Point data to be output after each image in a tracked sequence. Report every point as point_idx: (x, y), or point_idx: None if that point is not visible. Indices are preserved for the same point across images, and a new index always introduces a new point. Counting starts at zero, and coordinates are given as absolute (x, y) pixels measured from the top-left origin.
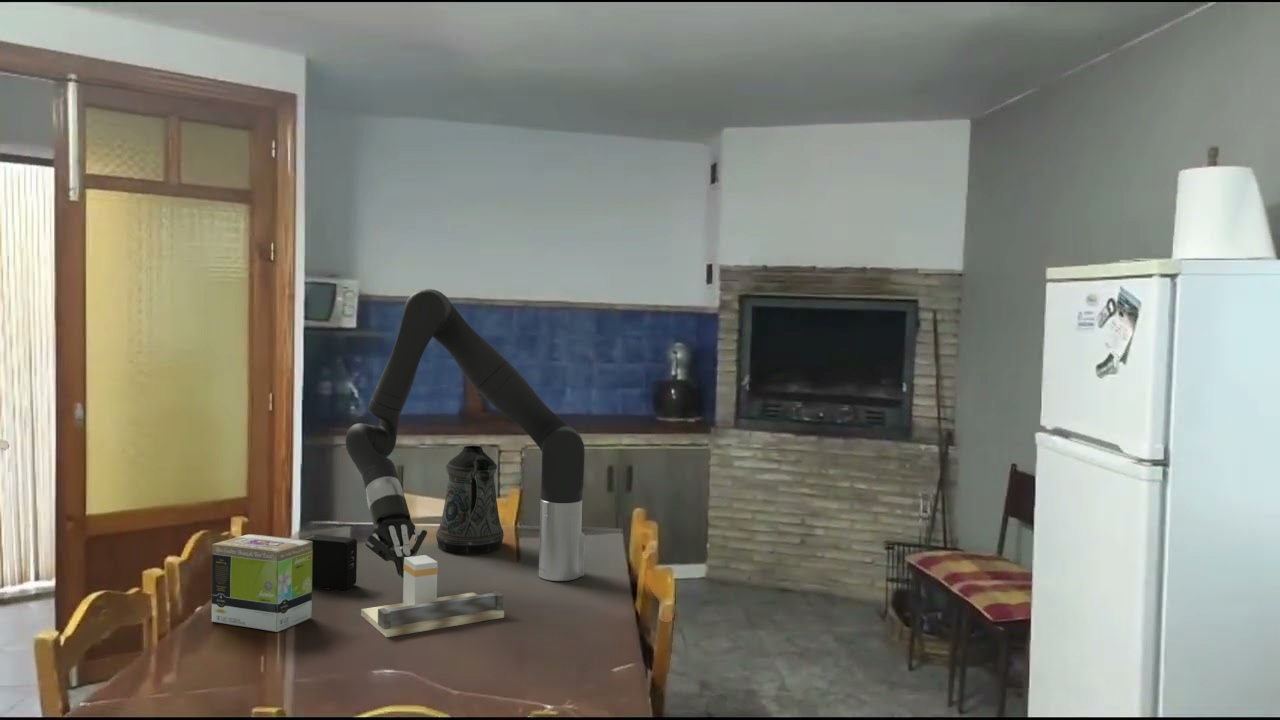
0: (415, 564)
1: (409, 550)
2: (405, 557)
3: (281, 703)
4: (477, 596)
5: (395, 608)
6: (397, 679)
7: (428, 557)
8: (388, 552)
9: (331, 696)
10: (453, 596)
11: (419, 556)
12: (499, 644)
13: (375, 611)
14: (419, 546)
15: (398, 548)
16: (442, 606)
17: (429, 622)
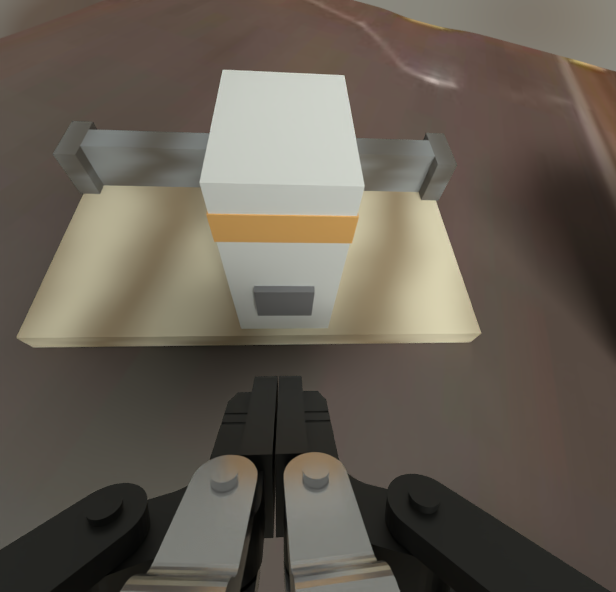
0: (342, 77)
1: (183, 507)
2: (354, 184)
3: (572, 66)
4: (144, 140)
5: (408, 150)
6: (424, 60)
7: (217, 136)
8: (439, 500)
9: (511, 59)
10: (122, 322)
11: (257, 170)
12: None
13: (434, 290)
14: (6, 550)
15: (314, 544)
16: None
17: None
